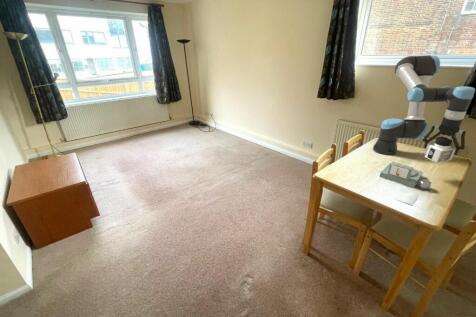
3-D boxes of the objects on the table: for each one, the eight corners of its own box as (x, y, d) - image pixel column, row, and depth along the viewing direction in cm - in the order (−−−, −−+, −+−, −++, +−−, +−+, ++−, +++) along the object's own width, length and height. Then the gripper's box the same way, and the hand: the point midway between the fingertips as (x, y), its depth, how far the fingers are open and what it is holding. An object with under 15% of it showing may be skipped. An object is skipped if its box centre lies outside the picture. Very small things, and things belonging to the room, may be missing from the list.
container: (436, 163, 122) (445, 141, 116) (424, 157, 129) (432, 136, 123) (448, 161, 123) (458, 139, 117) (435, 155, 130) (444, 134, 124)
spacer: (418, 184, 125) (420, 178, 123) (429, 187, 121) (432, 181, 120) (416, 188, 122) (418, 181, 120) (427, 191, 118) (430, 185, 117)
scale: (389, 166, 143) (393, 152, 139) (421, 176, 132) (427, 161, 127) (379, 177, 133) (383, 162, 129) (413, 188, 121) (419, 172, 117)
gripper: (424, 115, 121) (411, 152, 131) (483, 124, 105) (464, 165, 116) (427, 112, 125) (414, 148, 135) (485, 120, 110) (466, 160, 120)
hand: (437, 156), depth 125 cm, fingers closed on container, 10 cm apart
